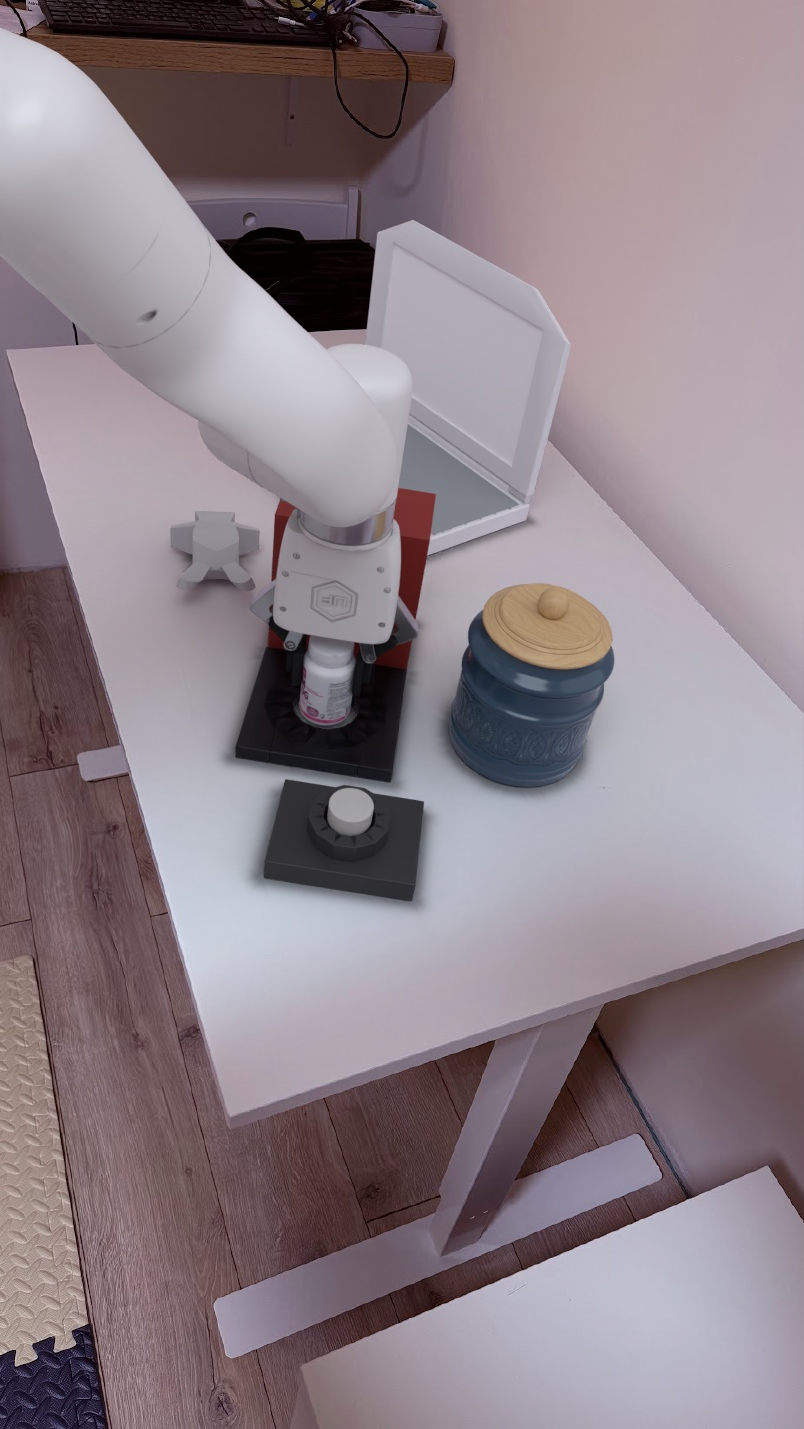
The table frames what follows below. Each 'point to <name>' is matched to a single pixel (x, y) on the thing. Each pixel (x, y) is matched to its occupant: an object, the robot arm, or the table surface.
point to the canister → (530, 684)
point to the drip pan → (337, 750)
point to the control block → (345, 843)
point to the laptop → (467, 378)
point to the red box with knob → (415, 538)
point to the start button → (350, 811)
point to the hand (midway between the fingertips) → (327, 679)
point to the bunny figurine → (215, 548)
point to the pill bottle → (327, 680)
